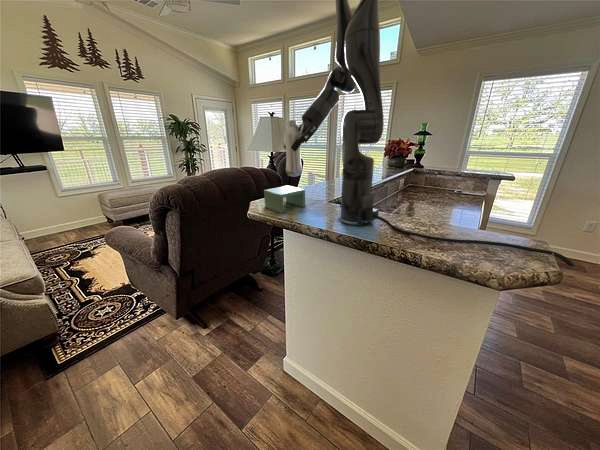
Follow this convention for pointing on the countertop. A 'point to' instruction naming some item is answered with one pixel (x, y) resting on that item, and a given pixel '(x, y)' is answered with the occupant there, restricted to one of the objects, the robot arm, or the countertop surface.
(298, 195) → the mint green box
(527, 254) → the countertop surface
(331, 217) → the countertop surface
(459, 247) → the countertop surface
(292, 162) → the plastic bottle
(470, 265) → the countertop surface
